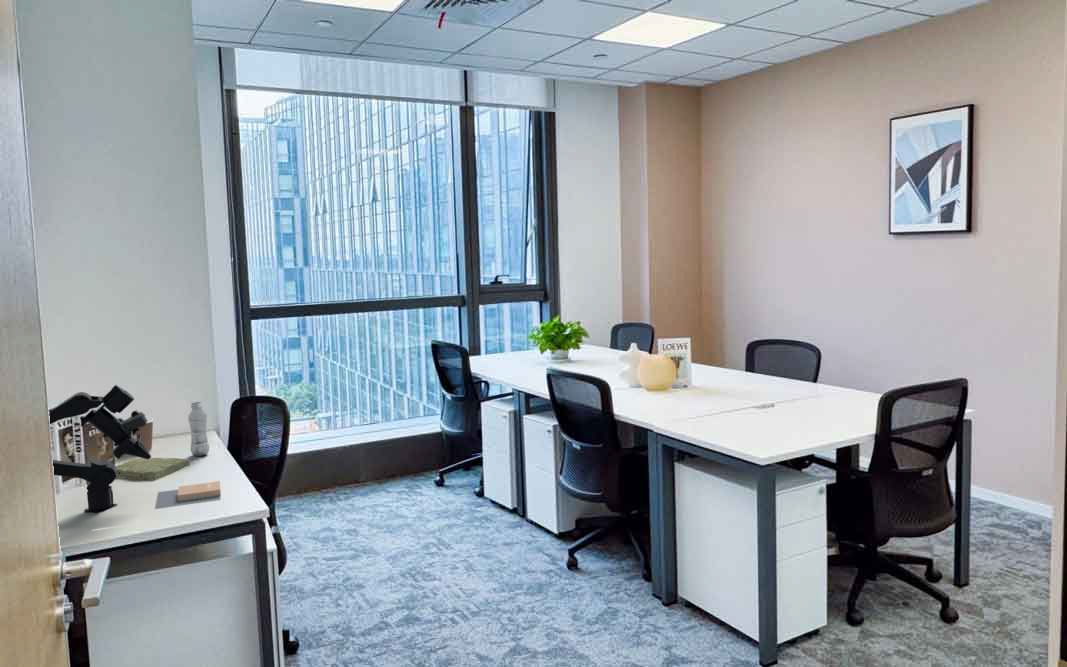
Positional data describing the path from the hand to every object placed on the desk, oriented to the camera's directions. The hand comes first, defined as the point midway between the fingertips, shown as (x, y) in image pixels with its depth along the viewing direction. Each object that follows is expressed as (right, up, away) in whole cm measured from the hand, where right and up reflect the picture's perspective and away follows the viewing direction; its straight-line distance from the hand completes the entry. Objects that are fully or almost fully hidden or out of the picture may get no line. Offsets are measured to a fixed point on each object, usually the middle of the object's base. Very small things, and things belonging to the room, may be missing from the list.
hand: (150, 457), depth 238 cm
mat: (+10, -13, +4) cm, 17 cm away
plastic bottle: (-8, -8, +56) cm, 57 cm away
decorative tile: (-18, -11, +35) cm, 41 cm away
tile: (+7, -12, +3) cm, 14 cm away
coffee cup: (-35, -8, +65) cm, 74 cm away
